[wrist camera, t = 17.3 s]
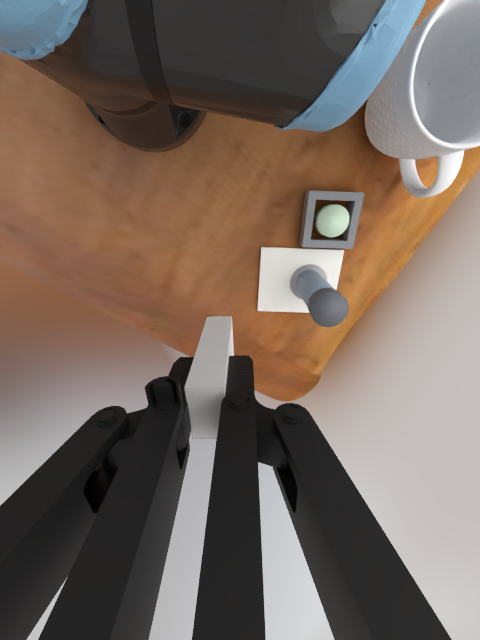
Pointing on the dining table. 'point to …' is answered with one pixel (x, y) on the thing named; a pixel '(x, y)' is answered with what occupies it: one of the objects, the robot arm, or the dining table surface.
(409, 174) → the mug
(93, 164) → the dining table surface
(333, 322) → the capped blue-grey cylinder
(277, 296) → the white flat plate
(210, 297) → the dining table surface
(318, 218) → the button
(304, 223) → the button housing
